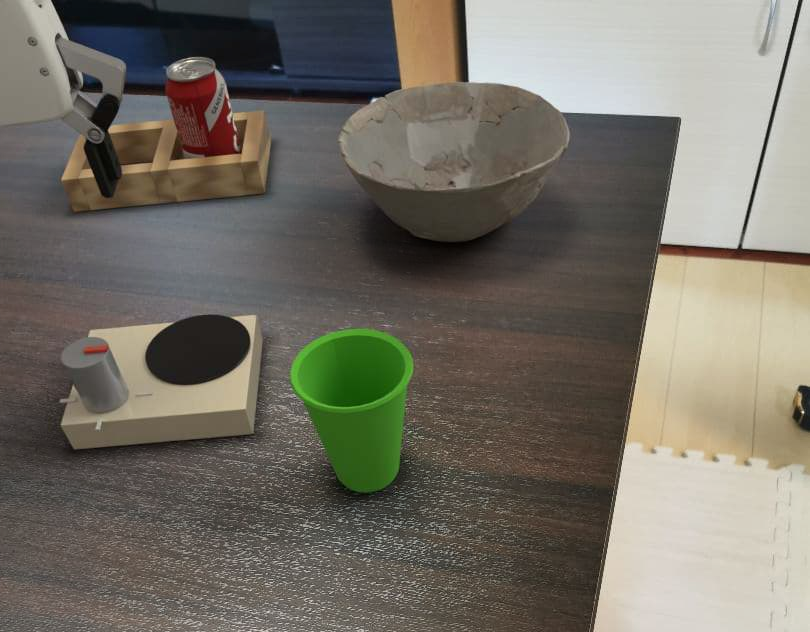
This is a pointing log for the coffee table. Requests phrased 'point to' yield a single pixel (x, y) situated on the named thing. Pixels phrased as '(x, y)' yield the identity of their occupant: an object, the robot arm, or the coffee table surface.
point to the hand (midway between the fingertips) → (48, 195)
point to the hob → (166, 397)
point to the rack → (171, 166)
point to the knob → (95, 374)
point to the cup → (356, 402)
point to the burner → (198, 349)
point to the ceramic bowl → (454, 155)
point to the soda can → (201, 109)
